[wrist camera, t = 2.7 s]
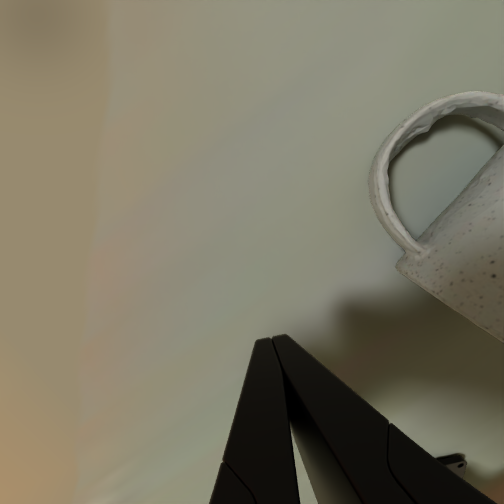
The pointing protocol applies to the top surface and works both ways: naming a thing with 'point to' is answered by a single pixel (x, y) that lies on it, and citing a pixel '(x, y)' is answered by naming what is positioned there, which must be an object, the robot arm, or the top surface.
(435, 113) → the ceramic mug
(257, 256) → the top surface
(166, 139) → the top surface
